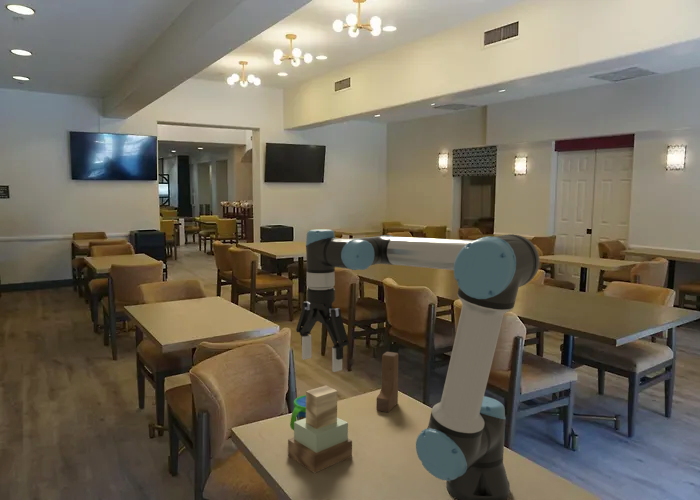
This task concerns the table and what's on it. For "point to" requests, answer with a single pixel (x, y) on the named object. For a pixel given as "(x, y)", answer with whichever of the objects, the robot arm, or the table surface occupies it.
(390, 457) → the table surface
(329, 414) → the oak block
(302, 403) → the snack cup
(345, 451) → the walnut slab
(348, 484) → the table surface
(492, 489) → the robot arm
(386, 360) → the wooden block
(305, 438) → the sage slab
